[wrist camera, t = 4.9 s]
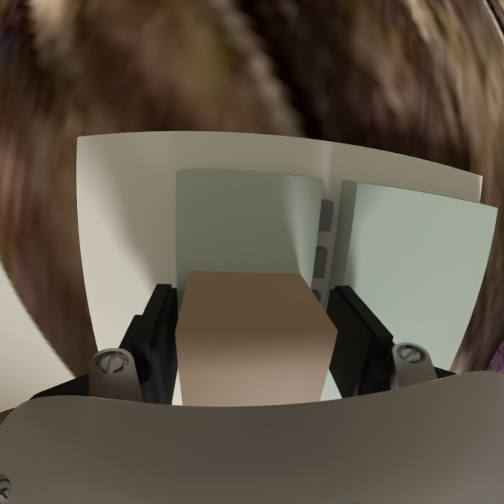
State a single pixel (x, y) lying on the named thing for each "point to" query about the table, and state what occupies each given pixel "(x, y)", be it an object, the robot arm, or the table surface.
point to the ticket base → (329, 232)
